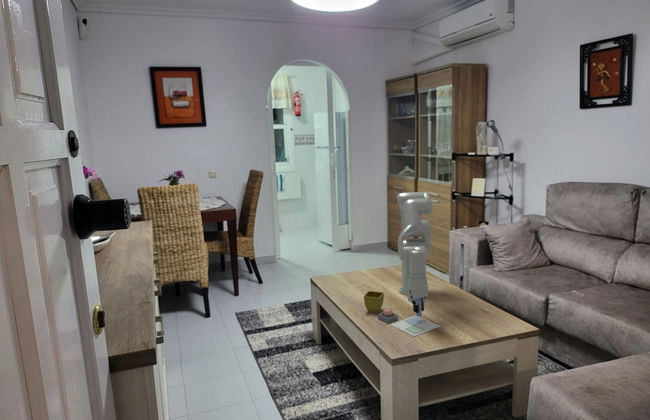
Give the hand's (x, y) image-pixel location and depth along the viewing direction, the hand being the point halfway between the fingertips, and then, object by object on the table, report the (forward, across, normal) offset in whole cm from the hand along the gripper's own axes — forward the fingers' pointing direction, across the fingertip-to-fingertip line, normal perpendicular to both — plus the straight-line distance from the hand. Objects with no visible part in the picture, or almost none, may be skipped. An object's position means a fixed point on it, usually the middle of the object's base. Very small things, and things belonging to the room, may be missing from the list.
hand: (418, 311), depth 214 cm
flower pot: (+5, +8, -24) cm, 26 cm away
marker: (+2, 0, 0) cm, 2 cm away
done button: (+3, +10, -11) cm, 15 cm away
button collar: (+5, +10, -11) cm, 16 cm away
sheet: (+5, +5, +3) cm, 8 cm away
